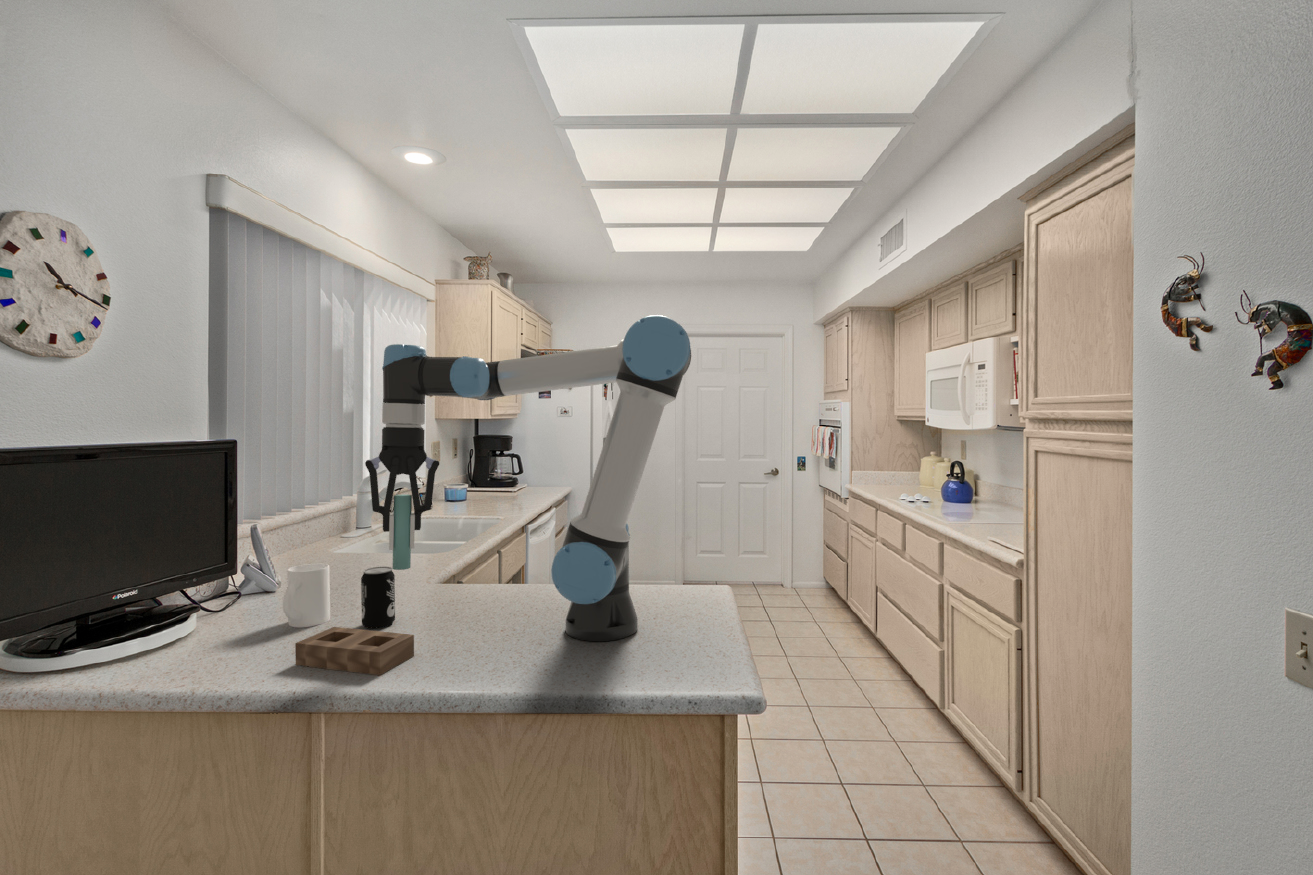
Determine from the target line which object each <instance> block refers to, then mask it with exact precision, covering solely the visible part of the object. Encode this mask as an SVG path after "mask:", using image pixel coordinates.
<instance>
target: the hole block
mask: <svg viewBox="0 0 1313 875" xmlns="http://www.w3.org/2000/svg"><path fill="white" fill-rule="evenodd" d="M294 644H295V645H294V646H295V648H294V649H295V650H294V651H295V666H299V665H302V666H301V667H307V666H309V668H315V667H317V669H325V670H334V671H341V672H349V673H350V672H351V673H357V674H366V675H374V676H382V675H384V674H385V673H387V672H388V671H390V670H393V669H394V668H396V667H397V666H399V665H401V664H402V663H405V662H406V661H408V660H410V659H411V658H413V657H415V634H410V633H409V634H408V633H401V632H399V633H398V632H390V631H382V630H381V631H379V630H372V629H369V630H368V629H359V628H349V627H340V626H332V627H331V628H328V629H326V630H323V631H320V632H318V633H316V634H313V635H311V636H309V637H306V638H304V639H302V640H298V641H297V642H295V643H294Z"/></svg>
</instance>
